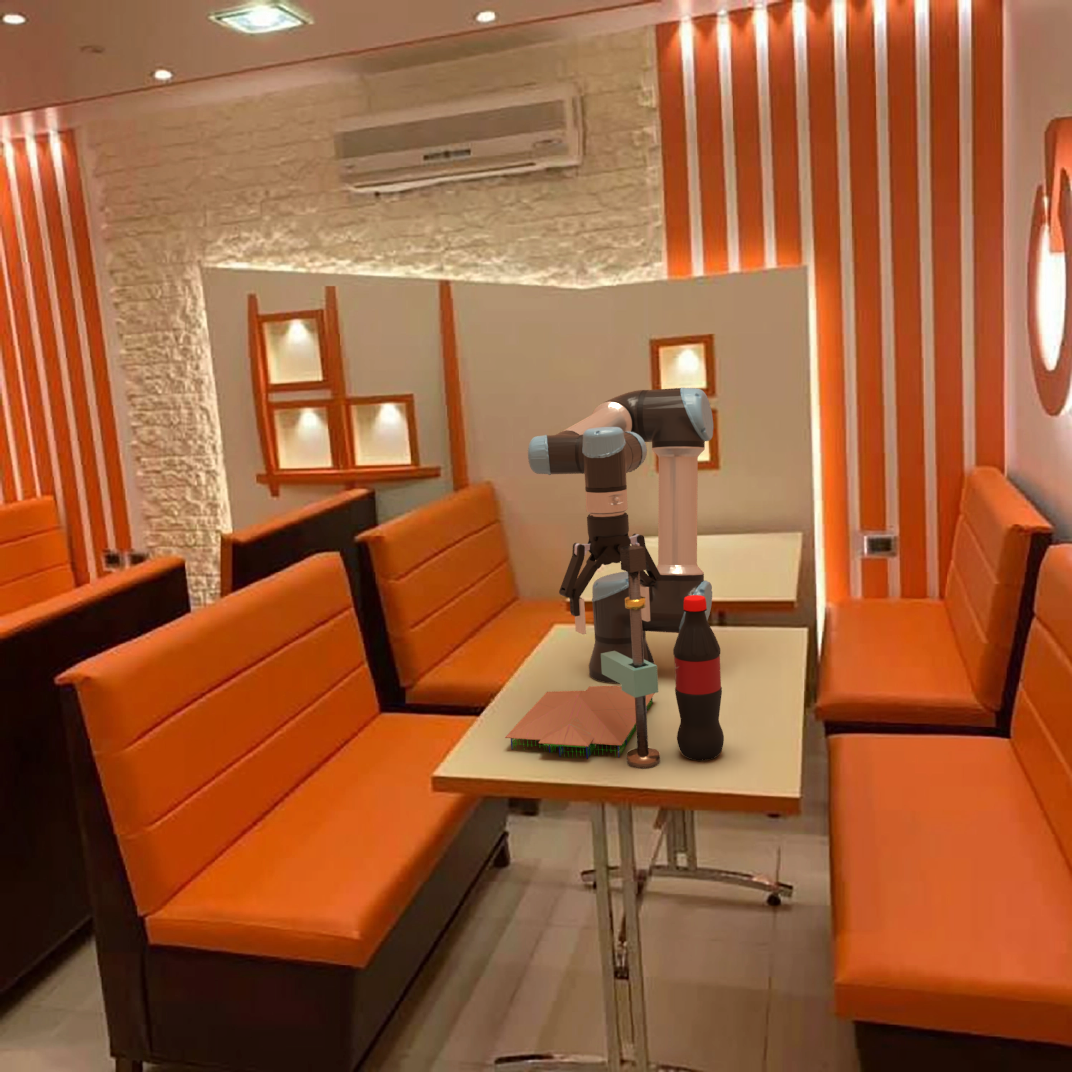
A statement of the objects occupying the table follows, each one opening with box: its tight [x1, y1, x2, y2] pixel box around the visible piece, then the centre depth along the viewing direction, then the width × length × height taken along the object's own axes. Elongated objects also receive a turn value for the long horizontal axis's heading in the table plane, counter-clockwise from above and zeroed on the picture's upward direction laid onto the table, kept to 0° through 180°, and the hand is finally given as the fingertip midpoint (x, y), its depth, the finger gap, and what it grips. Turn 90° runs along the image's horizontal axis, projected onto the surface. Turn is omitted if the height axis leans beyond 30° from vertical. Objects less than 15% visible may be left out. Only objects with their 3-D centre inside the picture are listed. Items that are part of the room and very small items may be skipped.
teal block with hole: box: [601, 651, 659, 698], centre depth 192 cm, size 14×5×5 cm, turn 25°
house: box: [504, 685, 656, 760], centre depth 208 cm, size 23×33×8 cm
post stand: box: [620, 544, 661, 769], centre depth 187 cm, size 6×6×40 cm
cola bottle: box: [672, 595, 725, 762], centre depth 189 cm, size 8×8×30 cm
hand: (613, 626), depth 194 cm, fingers open, 13 cm apart
